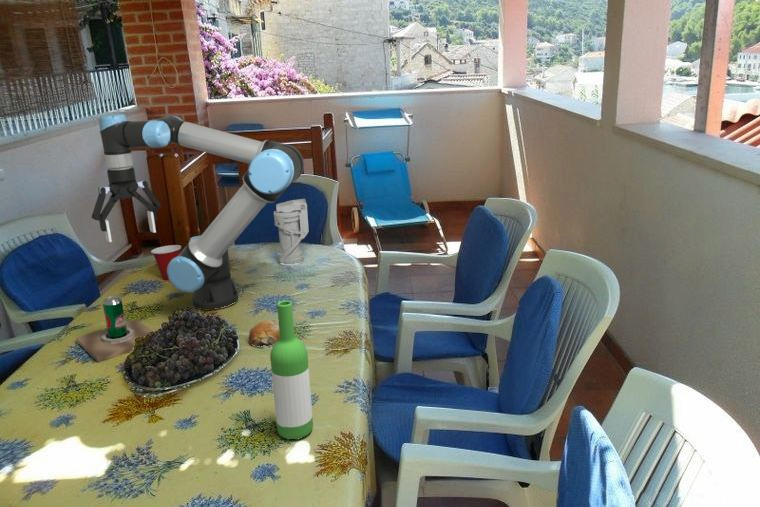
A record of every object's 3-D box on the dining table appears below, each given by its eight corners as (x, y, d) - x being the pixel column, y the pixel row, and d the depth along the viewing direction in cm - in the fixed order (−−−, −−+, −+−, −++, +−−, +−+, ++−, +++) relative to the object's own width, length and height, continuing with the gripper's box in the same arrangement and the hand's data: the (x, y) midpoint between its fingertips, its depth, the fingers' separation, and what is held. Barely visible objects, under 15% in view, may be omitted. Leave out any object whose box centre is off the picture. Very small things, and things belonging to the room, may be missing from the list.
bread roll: (288, 350, 174) (293, 323, 175) (269, 350, 165) (273, 321, 166) (260, 345, 178) (265, 318, 179) (239, 344, 169) (244, 316, 170)
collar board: (137, 323, 187) (136, 316, 186) (162, 341, 175) (160, 333, 174) (76, 342, 176) (74, 334, 175) (98, 362, 163) (96, 354, 162)
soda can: (120, 341, 172) (114, 302, 168) (105, 340, 173) (98, 301, 169) (131, 333, 176) (124, 296, 173) (116, 332, 177) (109, 295, 174)
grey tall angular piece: (278, 267, 235) (272, 205, 227) (277, 259, 245) (272, 199, 237) (311, 264, 237) (307, 202, 229) (309, 256, 247) (305, 197, 239)
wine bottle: (307, 443, 125) (297, 311, 116) (272, 440, 127) (259, 309, 118) (317, 422, 133) (308, 296, 123) (284, 419, 134) (272, 294, 125)
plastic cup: (173, 271, 234) (169, 242, 231) (191, 276, 228) (187, 246, 224) (149, 279, 226) (144, 249, 222) (166, 284, 220) (162, 253, 216)
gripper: (155, 161, 189) (165, 226, 195) (71, 172, 172) (85, 242, 179) (166, 163, 183) (175, 230, 190) (80, 175, 167) (93, 247, 174)
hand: (131, 236), depth 184 cm, fingers open, 13 cm apart
